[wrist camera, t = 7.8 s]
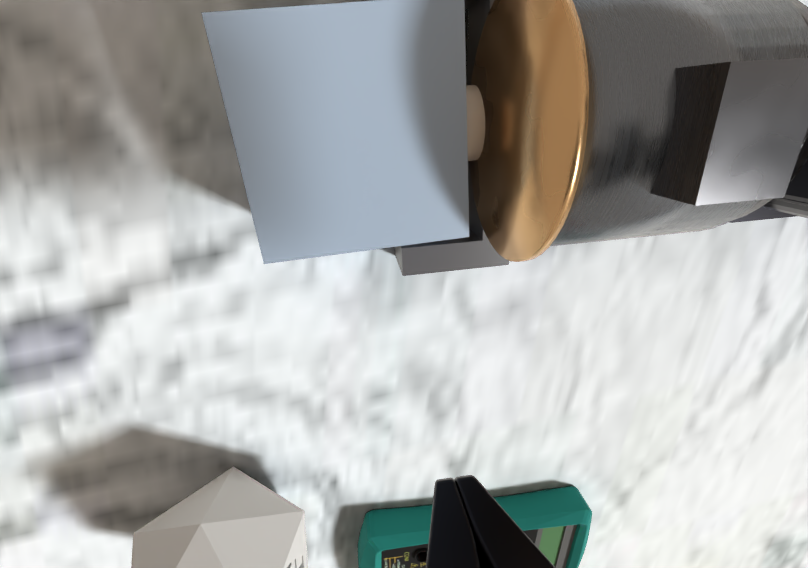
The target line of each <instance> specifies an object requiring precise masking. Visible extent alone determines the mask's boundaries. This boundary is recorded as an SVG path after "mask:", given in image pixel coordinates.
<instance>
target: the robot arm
mask: <svg viewBox="0 0 808 568" xmlns="http://www.w3.org/2000/svg"><path fill="white" fill-rule="evenodd" d="M793 216H801V217H805V218H808V161H807V162H806V163H805V165H804V166H803V167H802V169H801V170H800V172H799V173H798V174H797V176H796V177H795V178H794V179H793V180H792V181H791V182H790V183H789V185H788V188H787V191H786V194H785V197H784V198H773V199H772V200H771V201H769V202H768V203H766V204H765V205H763V206H762V207H761V208H759V209H757V210H755V211H753V212H752V213H750V214H748V215H746V216H743V217H741V218H738V219H735V220H732V221H729V222H731V223H733V222H743V221H753V220H763V219H773V218H783V217H793ZM426 568H555V566H554V565H553V564H552V563H551V562H550V561H549V560H548V559H547V557H546V556H545V555H544V554H543V553H542V552H541V551H540V550H539V548H538V547H537V546H536V545H535V544H534V543H533V542H532V541H531V539H530V538H529V537H528V536H527V535H526V534H525V533H524V532H523V530H522V529H521V528H520V527H519V526H518V525H517V524H516V523H515V521H514V520H513V519H512V518H511V517H510V516H509V515H508V514H507V512H506V511H505V510H504V509H503V508H502V507H501V506H500V505H499V504H498V502H497V501H496V500H495V499H494V498H493V497H492V496H491V495H490V493H489V492H488V491H487V490H486V489H485V488H484V487H483V486H482V484H481V483H480V482H479V481H478V480H477V479H476V478H475V477H474V476H472V475H466V476H460V477H456V478H455V480H454V479H453V478H446V479H439V480H436V482H435V488H434V497H433V506H432V515H431V524H430V533H429V542H428V551H427V560H426Z"/></svg>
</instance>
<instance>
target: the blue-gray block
mask: <svg viewBox="0 0 808 568" xmlns="http://www.w3.org/2000/svg"><path fill="white" fill-rule="evenodd" d="M202 17H203V21H204V25H205V29H206V33H207V37H208V41H209V45H210V49H211V53H212V57H213V61H214V65H215V69H216V73H217V77H218V81H219V85H220V89H221V93H222V97H223V101H224V105H225V109H226V113H227V117H228V121H229V125H230V129H231V133H232V137H233V141H234V145H235V149H236V153H237V157H238V161H239V165H240V169H241V173H242V177H243V181H244V185H245V189H246V193H247V197H248V201H249V205H250V209H251V213H252V217H253V221H254V225H255V229H256V233H257V237H258V241H259V245H260V249H261V253H262V257H263V261H264V264H268V263H275V262H283V261H290V260H298V259H305V258H313V257H321V256H328V255H336V254H343V253H351V252H359V251H366V250H374V249H381V248H389V247H396V246H404V245H412V244H419V243H427V242H434V241H442V240H449V239H457V238H465V237H469V198H468V161H473V160H477V159H478V158H479V157H480V155H481V153H482V150H483V145H484V139H485V112H484V104H483V100H482V96H481V93H480V91H479V89H478V87H477V86H476V85H466V52H465V3H464V0H375V1H360V2H346V3H332V4H317V5H303V6H289V7H274V8H260V9H246V10H231V11H217V12H202Z"/></svg>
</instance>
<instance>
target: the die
mask: <svg viewBox="0 0 808 568" xmlns="http://www.w3.org/2000/svg"><path fill="white" fill-rule="evenodd" d="M131 568H308V560H307V544H306V528H305V512H304V510H302V509H300V508H299V507H297V506H296V505H294V504H292V503H291V502H289V501H288V500H286V499H284V498H283V497H281V496H280V495H278V494H276V493H275V492H273V491H272V490H270V489H269V488H267V487H265V486H264V485H262V484H261V483H259V482H257V481H256V480H254V479H253V478H251V477H249V476H248V475H246V474H245V473H243V472H241V471H240V470H238V469H237V468H235V467H232V468H230V469H229V470H227V471H226V472H224V473H223V474H221V475H220V476H218V477H217V478H215V479H214V480H212V481H211V482H209V483H208V484H206V485H205V486H203V487H202V488H200V489H199V490H197V491H196V492H194V493H193V494H191V495H190V496H188V497H187V498H185V499H184V500H182V501H181V502H179V503H178V504H176V505H175V506H173V507H172V508H170V509H169V510H167V511H166V512H164V513H163V514H161V515H160V516H158V517H157V518H155V519H154V520H152V521H151V522H149V523H148V524H146V525H145V526H143V527H142V528H140V529H139V530H137V531H136V532H134V533H133V548H132V566H131Z"/></svg>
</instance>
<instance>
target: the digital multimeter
mask: <svg viewBox="0 0 808 568" xmlns="http://www.w3.org/2000/svg"><path fill="white" fill-rule="evenodd" d="M493 498H494V499H495V500H496V501H497V502H498V504H499V505H500V506H501V507H502V508H503V509H504V510H505V511H506V512H507V514H508V515H509V516H510V517H511V518H512V519H513V520H514V521H515V523H516V524H517V525H518V526H519V527H520V528H521V529H522V530H523V532H524V533H525V534H526V535H527V536H528V537H529V538H530V539H531V541H532V542H533V543H534V544H535V545H536V546H537V547H538V548H539V550H540V551H541V552H542V553H543V554H544V555H545V556H546V557H547V559H548V560H549V561H550V562H551V563H552V564H553V565H554V566H555V568H578V566H579V564H580V561H581V559H582V556H583V554H584V550H585V547H586V544H587V540H588V535H589V530H590V524H591V517H592V511H591V510H590V508H589V506H588V505H587V503H586V502H585V500H584V498H583V497H582V495H581V494H580V492H579V490H578V489H577V488H576V487H562V488H554V489H547V490H541V491H534V492H528V493H522V494H516V495H509V496H501V497H493ZM432 506H433V504H432V505H424V506H415V507H402V508H390V509H378V510H372V511H369V512H368V513H367V514H366V515H365V518H364V521H363V524H362V528H361V531H360V536H359V541H358V565H359V568H426V560H427V551H428V542H429V533H430V524H431V515H432Z"/></svg>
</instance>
